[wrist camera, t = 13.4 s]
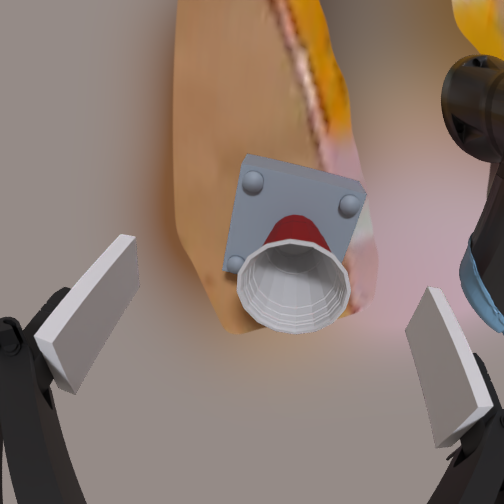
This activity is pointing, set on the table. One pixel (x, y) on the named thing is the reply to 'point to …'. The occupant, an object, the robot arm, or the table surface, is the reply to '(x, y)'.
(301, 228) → the plastic cup
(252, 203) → the base block
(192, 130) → the table surface
